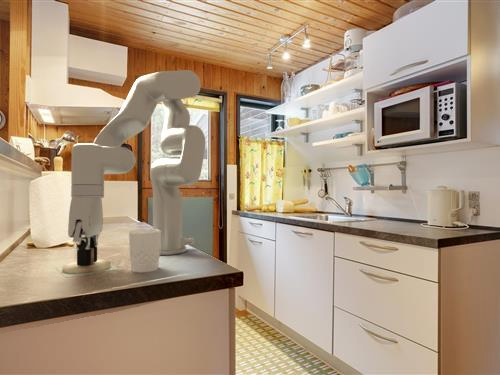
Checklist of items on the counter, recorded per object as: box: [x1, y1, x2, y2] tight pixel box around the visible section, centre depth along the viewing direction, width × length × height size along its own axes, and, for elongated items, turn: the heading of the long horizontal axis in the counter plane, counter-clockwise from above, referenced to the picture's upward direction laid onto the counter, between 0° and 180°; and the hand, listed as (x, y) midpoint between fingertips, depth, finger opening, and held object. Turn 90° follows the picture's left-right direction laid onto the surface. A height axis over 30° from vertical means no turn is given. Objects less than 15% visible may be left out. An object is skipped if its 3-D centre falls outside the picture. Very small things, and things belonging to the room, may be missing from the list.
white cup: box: [128, 229, 161, 273], centre depth 80 cm, size 8×8×10 cm
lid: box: [61, 248, 112, 274], centre depth 80 cm, size 11×11×5 cm
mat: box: [55, 264, 119, 278], centre depth 80 cm, size 12×12×1 cm
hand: (87, 262), depth 80 cm, fingers closed on lid, 3 cm apart
